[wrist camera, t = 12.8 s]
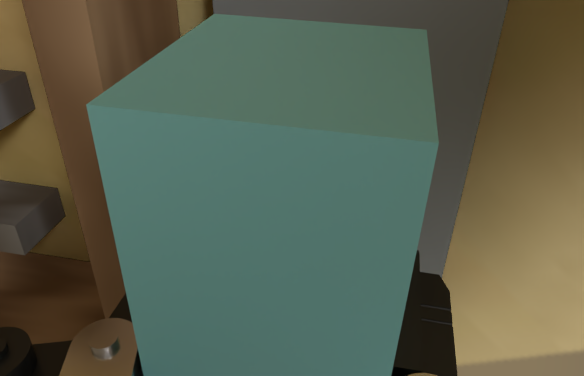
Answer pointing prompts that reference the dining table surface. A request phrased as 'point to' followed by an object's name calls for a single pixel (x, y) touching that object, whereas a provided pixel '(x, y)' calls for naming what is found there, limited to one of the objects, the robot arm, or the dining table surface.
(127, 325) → the robot arm
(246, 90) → the teal rectangular block
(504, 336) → the dining table surface
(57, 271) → the pocket
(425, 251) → the slate mat
